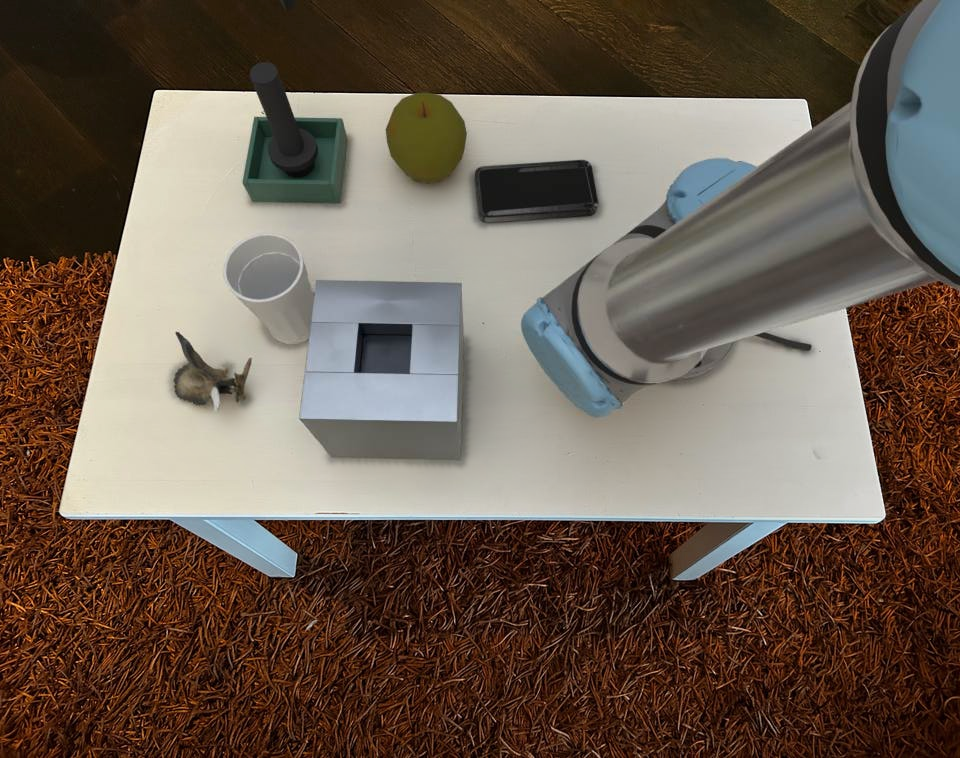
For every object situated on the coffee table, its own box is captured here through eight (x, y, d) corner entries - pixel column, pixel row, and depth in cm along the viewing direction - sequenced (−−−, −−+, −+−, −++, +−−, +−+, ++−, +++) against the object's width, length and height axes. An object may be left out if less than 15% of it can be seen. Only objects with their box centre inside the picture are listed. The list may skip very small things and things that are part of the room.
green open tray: (347, 139, 86) (342, 117, 82) (340, 203, 82) (334, 184, 79) (263, 137, 86) (254, 116, 82) (252, 201, 82) (242, 182, 79)
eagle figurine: (265, 351, 74) (188, 323, 73) (242, 364, 67) (156, 334, 66) (247, 411, 75) (171, 385, 75) (222, 430, 68) (139, 401, 68)
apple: (471, 192, 83) (471, 131, 73) (395, 201, 82) (384, 140, 72) (461, 131, 87) (459, 64, 76) (388, 138, 86) (377, 72, 76)
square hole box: (464, 342, 76) (461, 282, 62) (460, 460, 70) (457, 421, 57) (343, 340, 76) (316, 279, 62) (331, 457, 70) (298, 418, 57)
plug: (331, 158, 84) (302, 64, 70) (304, 191, 82) (269, 102, 68) (293, 139, 85) (258, 43, 71) (266, 172, 83) (223, 80, 69)
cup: (317, 356, 75) (289, 308, 64) (251, 343, 75) (211, 293, 64) (336, 296, 78) (312, 240, 66) (272, 284, 78) (238, 226, 67)
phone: (599, 209, 81) (479, 217, 80) (597, 215, 82) (479, 223, 81) (590, 158, 84) (474, 165, 83) (588, 164, 85) (474, 171, 84)
